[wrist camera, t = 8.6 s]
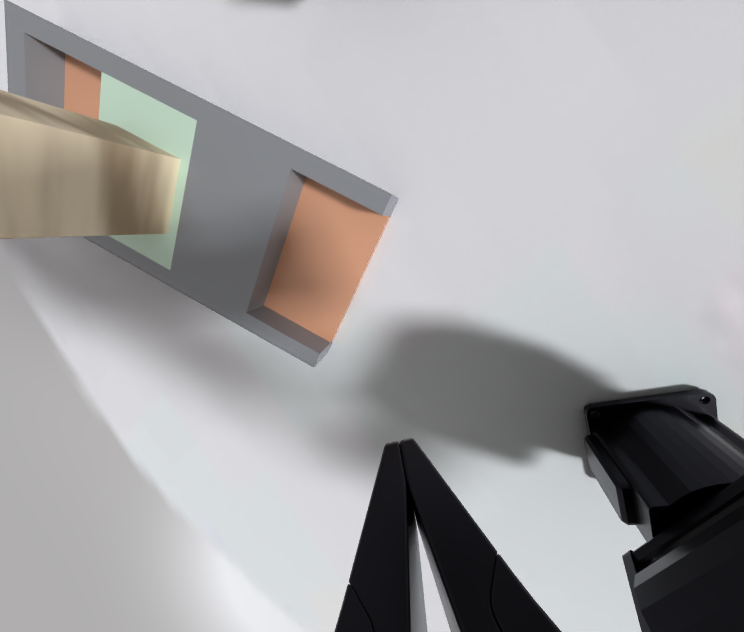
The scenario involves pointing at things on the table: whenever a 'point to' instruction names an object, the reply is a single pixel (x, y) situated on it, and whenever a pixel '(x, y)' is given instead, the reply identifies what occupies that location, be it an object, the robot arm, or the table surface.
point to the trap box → (219, 194)
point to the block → (78, 175)
